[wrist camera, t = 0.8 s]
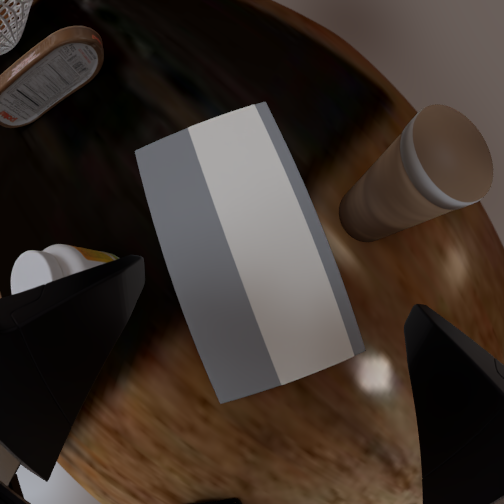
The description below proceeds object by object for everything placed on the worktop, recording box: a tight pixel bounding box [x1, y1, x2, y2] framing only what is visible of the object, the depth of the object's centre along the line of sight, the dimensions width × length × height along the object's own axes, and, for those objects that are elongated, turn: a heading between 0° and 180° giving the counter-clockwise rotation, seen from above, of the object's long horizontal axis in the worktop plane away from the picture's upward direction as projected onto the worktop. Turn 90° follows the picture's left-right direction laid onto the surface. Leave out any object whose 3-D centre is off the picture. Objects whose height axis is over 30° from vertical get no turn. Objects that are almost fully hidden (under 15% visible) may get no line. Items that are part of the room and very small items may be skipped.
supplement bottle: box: [11, 244, 119, 295], centre depth 18 cm, size 5×5×10 cm
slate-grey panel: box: [135, 102, 366, 404], centre depth 22 cm, size 22×12×1 cm, turn 20°
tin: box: [0, 26, 104, 128], centre depth 21 cm, size 15×3×8 cm, turn 115°
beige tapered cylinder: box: [339, 105, 493, 242], centre depth 16 cm, size 5×5×13 cm
